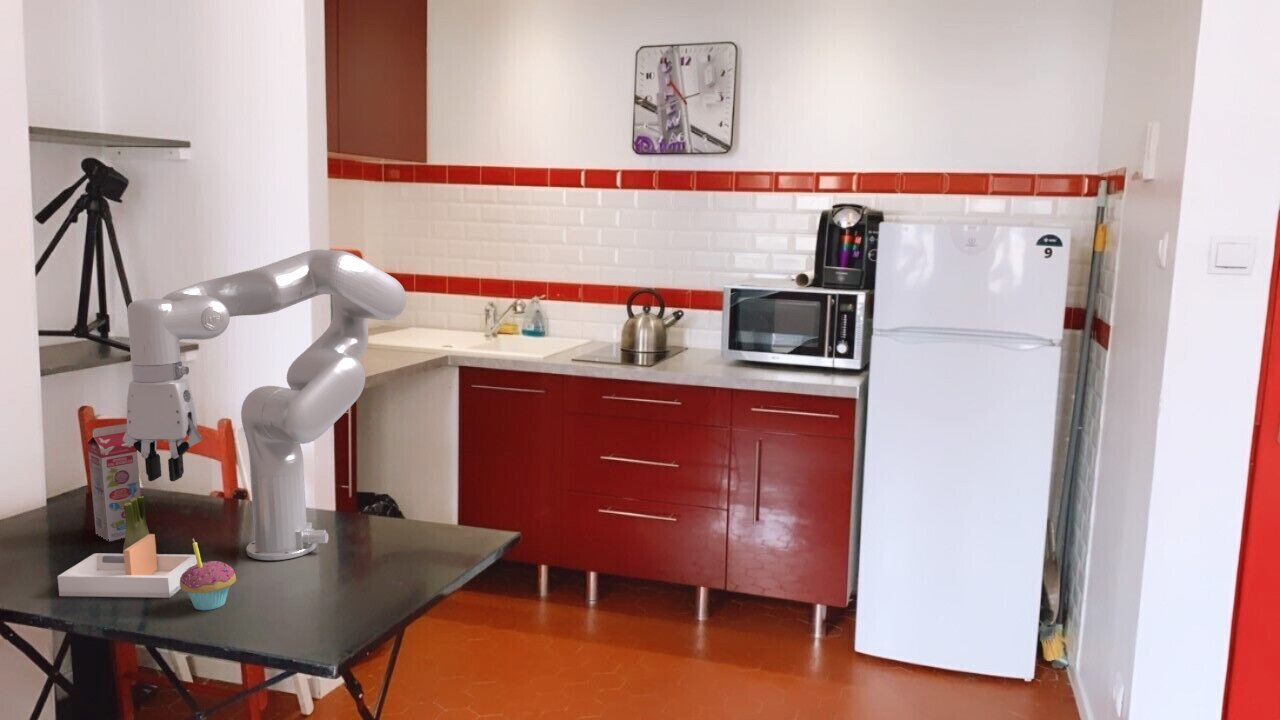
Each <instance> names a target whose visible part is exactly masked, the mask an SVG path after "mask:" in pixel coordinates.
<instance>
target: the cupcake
mask: <svg viewBox="0 0 1280 720" xmlns="http://www.w3.org/2000/svg"><path fill="white" fill-rule="evenodd" d="M192 542H193V543H192V547H193V552H194V555H195V556H196V560H197V564H196V565H194V566H192V567H190V568H188V569H186V570H187V571H185V572H184V573H183V574H182V576H181V577H180V588H181V589H180V590H182V592H185V593H187V595H188V597H189V598H190V599H189V600H190V601H191V603H192V605H193V608H194V609H195V610H197V611H198V610H199V611H210V610H215V609H218V608H219V609H220V607H223V606H224V605H225V604H226V602H227V601H226V600H227V597H228V593H229V589H230V587H231V586H232V585H233V584H235V583H236V581H237V577H236V573H235V569H234V568H233V567H232V566H231V565H229V564H227V563H225V562H223V561H219V560H211V561H209V560H208V561H205V562H202V558H201V554H200V550H199V547H198V542H196V541H195V539H194V538H192Z"/></svg>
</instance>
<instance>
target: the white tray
mask: <svg viewBox="0 0 1280 720" xmlns="http://www.w3.org/2000/svg"><path fill="white" fill-rule="evenodd" d="M103 556H124V554H123V553H93V554H91V555H90V556H88V557H86V558H84V559H83V560H81V561H80V562H78V563H77V564H75V565H73V566H72V567H70V568H69V569H67V570H65V571H63V572H62V573H60V574H59V575H57V584H58V594H59V597H94V598H95V597H98V598H99V597H102V598H103V597H105V598H106V597H107V598H108V597H109V598H111V597H112V598H161V599H162V598H169V599H170V598H171V597H172V596H174V595H175V594H176V593H177V592H179V591H180V590H182V589H181V588H180V577H181V576H182V574H183V573H184V572H185V571H187V570H186V569H188V568H190V567H192V566H194V565H196V564H197V560H196V556H195V554H175V553H173V554H171V553H170V554H167V553H165V554H164V553H163V554H161V553H160V554H159V553H156V556H157V569H158V570H156V571H155V572H154V573H152V574H151V575H126V573H125V563H103V562H102V558H103Z"/></svg>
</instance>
